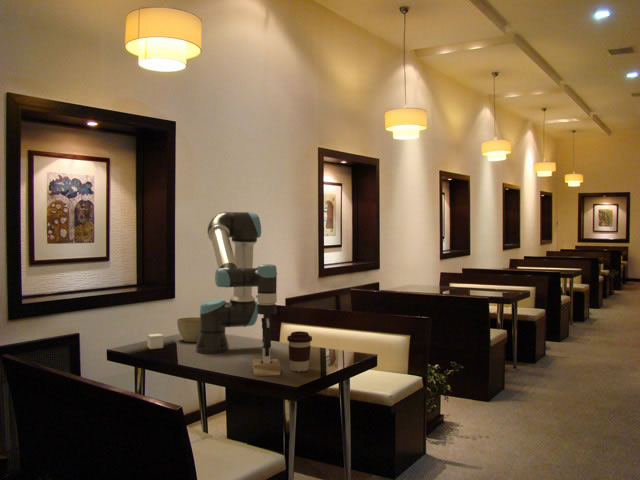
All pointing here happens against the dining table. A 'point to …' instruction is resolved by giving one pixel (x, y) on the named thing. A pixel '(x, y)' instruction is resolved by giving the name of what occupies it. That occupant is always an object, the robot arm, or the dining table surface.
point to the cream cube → (154, 341)
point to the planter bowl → (189, 328)
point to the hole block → (266, 367)
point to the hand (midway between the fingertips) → (266, 362)
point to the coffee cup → (299, 351)
